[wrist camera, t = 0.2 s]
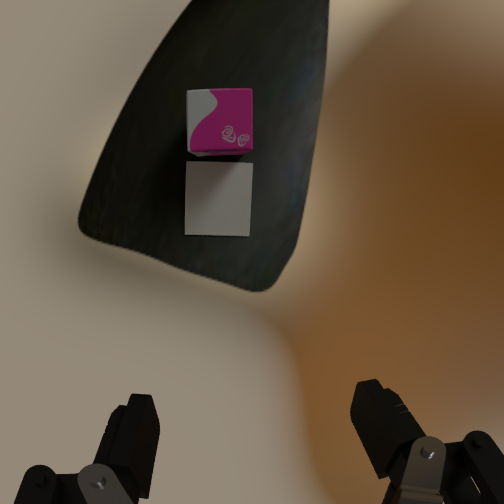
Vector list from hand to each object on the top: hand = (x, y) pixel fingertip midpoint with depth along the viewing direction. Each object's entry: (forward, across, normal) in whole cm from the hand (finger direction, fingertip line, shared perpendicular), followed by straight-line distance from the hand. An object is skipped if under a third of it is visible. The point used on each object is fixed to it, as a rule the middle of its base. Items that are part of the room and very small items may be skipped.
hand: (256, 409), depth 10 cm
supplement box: (+29, +1, -13) cm, 32 cm away
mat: (+29, +2, -5) cm, 29 cm away
